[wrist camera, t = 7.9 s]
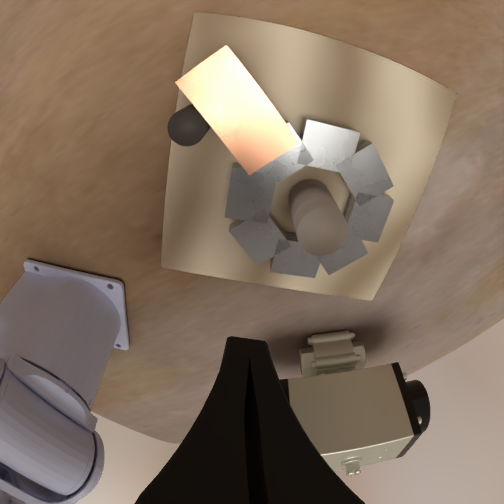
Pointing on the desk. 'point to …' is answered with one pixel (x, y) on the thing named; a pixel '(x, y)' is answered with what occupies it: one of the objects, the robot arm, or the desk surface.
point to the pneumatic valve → (355, 404)
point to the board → (307, 178)
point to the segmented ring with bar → (284, 167)
